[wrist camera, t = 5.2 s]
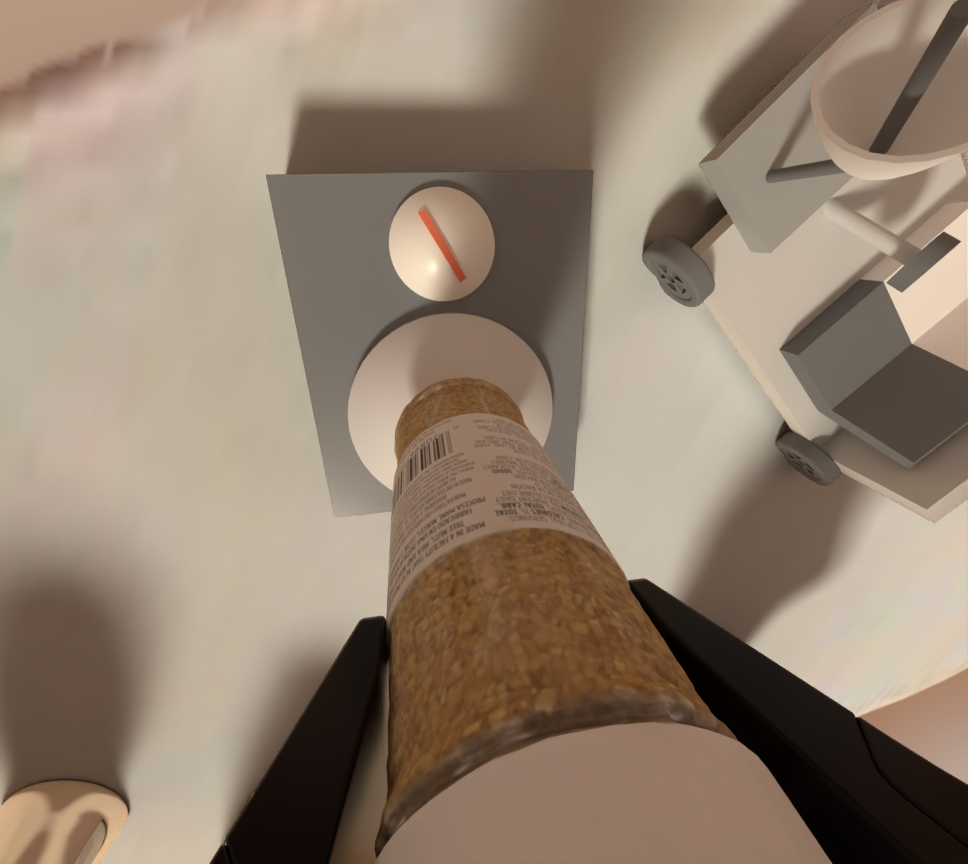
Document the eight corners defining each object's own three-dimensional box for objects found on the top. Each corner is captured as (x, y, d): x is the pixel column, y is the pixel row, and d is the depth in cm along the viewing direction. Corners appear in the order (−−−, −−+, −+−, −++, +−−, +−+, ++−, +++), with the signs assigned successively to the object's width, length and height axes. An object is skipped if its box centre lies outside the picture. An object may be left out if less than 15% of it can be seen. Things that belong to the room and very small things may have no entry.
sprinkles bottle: (447, 514, 17) (559, 1274, 4) (364, 425, 15) (170, 1328, 3) (548, 444, 16) (989, 1085, 4) (477, 343, 14) (900, 978, 2)
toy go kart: (791, 157, 8) (1476, -501, 6) (591, 197, 17) (847, -70, 15) (1010, 601, 15) (1366, 361, 13) (788, 467, 24) (981, 310, 22)
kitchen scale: (557, 466, 21) (576, 495, 19) (341, 489, 20) (332, 523, 18) (570, 177, 16) (598, 168, 14) (284, 182, 15) (261, 172, 13)
